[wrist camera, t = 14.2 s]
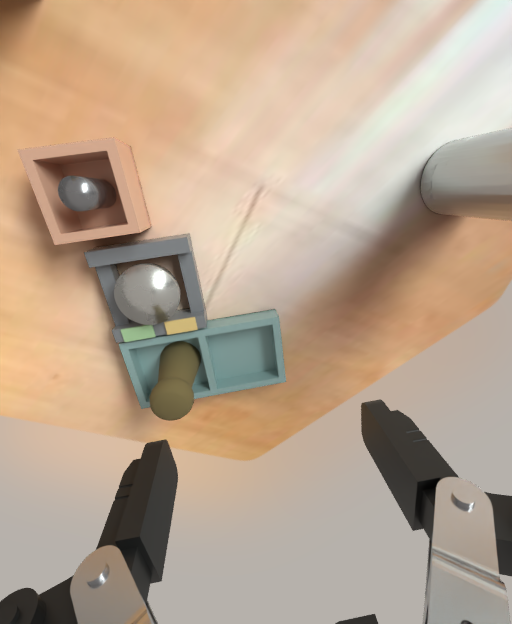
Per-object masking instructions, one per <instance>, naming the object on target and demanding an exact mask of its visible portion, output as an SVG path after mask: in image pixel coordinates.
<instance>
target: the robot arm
mask: <svg viewBox="0 0 512 624" xmlns="http://www.w3.org/2000/svg"><path fill="white" fill-rule="evenodd" d="M421 194H422V198H423V200H424V203H425V204H426V206H427V207H428V208H429V209H430V210H432V211H433V212H435V213H438V214H443V215H454V216H463V217H474V218H485V219H496V220H507V221H512V128H508V129H504V130H499V131H495V132H490V133H486V134H481V135H476V136H472V137H467V138H463V139H459V140H454V141H452V142H449V143H447V144H445V145H443V146H442V147H440V148H439V149H438V150H437V151H436V152H435V153H434V154H433V155H432V157H431V158H430V159H429V161H428V163H427V165H426V166H425V169H424V171H423V174H422V179H421ZM361 421H362V423H361V424H362V436H363V440H364V443H365V445H366V447H367V449H368V451H369V453H370V455H371V456H372V458H373V460H374V462H375V463H376V465H377V467H378V469H379V471H380V472H381V474H382V476H383V478H384V480H385V481H386V483H387V485H388V487H389V489H390V490H391V492H392V494H393V496H394V498H395V499H396V501H397V503H398V505H399V507H400V508H401V510H402V512H403V514H404V516H405V517H406V519H407V521H408V523H409V525H410V526H411V528H412V530H413V531H414V530H419V529H424V530H425V532H426V533H427V535H428V537H429V538H430V539H429V551H428V564H427V577H426V591H425V604H424V615H423V624H510V615H509V606H508V597H507V591H506V587H505V585H504V583H503V582H501V581H500V576H499V574H502V575H508V576H512V496H506V495H497V494H491V493H487V492H483V491H482V490H481V489H480V488H479V487H478V486H476V485H475V484H473V483H472V482H470V481H467V480H465V479H462V478H459V477H458V475H457V474H456V473H455V472H454V471H453V470H452V468H451V467H450V466H449V465H448V464H447V462H446V461H445V460H444V459H443V458H442V457H441V455H440V454H439V453H438V451H437V450H436V449H435V448H434V447H433V445H432V444H431V443H430V442H429V440H427V439H426V437H425V436H424V435H423V433H422V432H421V431H419V428H418V427H417V426H416V425H415V423H414V422H413V421H412V420H411V419H410V418H409V417H407V416H406V415H404V414H403V413H401V412H400V411H398V410H396V411H390V410H389V408H388V407H387V406H386V405H385V403H384V402H383V401H382V400H376V401H370V402H365V403H362V405H361ZM177 482H178V473H177V467H176V464H175V461H174V458H173V456H172V452H171V450H170V447H169V444H168V442H167V440H161V441H156V442H150V443H147V444H146V445H145V447H144V450H143V453H142V457H141V459H136V460H133V462H132V463H131V464H130V466H129V467H128V468H127V470H126V471H125V472H124V474H123V477H122V480H121V482H120V485H119V489H118V491H117V493H116V496H115V501H114V502H113V504H112V507H111V510H110V513H109V516H108V518H107V521H106V524H105V527H104V530H103V532H102V535H101V538H100V541H99V543H98V546H97V548H96V550H95V551H94V552H92V553H91V554H90V555H89V556H87V557H86V558H85V559H84V561H83V562H82V563H81V564H80V566H79V567H78V569H77V570H76V572H75V574H74V575H73V576H72V577H70V578H69V579H67V580H65V581H63V582H62V583H60V584H58V585H56V586H54V587H52V588H51V589H49V590H47V591H45V592H43V593H42V594H40V595H38V594H37V593H36V591H34V590H33V589H31V588H24V589H20V590H17V591H15V592H13V593H12V594H10V595H8V596H7V597H6V598H4V599H3V600H2V601H1V602H0V624H158V622H157V620H156V618H155V616H154V613H153V611H152V609H151V607H150V605H149V603H148V601H147V597H148V592H149V586H150V583H155V582H160V581H162V574H163V568H164V562H165V556H166V550H167V544H168V538H169V532H170V526H171V519H172V513H173V507H174V501H175V495H176V489H177ZM336 624H378V622H377V619H376V616H375V614H372V615H367V616H363V617H358V618H353V619H349V620H344V621H339V622H337V623H336Z"/></svg>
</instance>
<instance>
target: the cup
mask: <svg viewBox="0 0 512 624" xmlns="http://www.w3.org/2000/svg"><path fill="white" fill-rule="evenodd" d="M18 153H19V155H20V158H21V160H22V163H23V165H24V168H25V170H26V173H27V176H28V178H29V181H30V183H31V186H32V188H33V191H34V193H35V196H36V199H37V201H38V204H39V206H40V209H41V211H42V214H43V216H44V219H45V221H46V224H47V227H48V229H49V232H50V234H51V237H52V239H53V242H54V244H55V245H59V244H66V243H72V242H79V241H86V240H93V239H99V238H106V237H113V236H120V235H127V234H133V233H140V232H142V231H144V230H146V229H148V228H150V227H152V226H151V223H150V219H149V215H148V211H147V207H146V203H145V199H144V196H143V192H142V188H141V184H140V180H139V176H138V172H137V169H136V165H135V161H134V157H133V153H132V149H131V146H129V145H127V144H125V143H123V142H121V141H120V140H118V139H116V138H114V137H113V138H106V139H98V140H90V141H82V142H74V143H66V144H58V145H50V146H42V147H34V148H26V149H18ZM67 176H81V177H88V178H96V179H103V180H106V181H108V182H109V183H110V184H111V185H112V186H113V187H114V189H115V191H116V201H115V203H114V204H113V205H112V206H111V207H109V208H103V209H96V210H88V211H74V210H71V209H69V208H68V207H66V206H65V205H64V204H63V202H62V201H61V199H60V197H59V195H58V185H59V183H60V181H61V180H62V179H63V178H65V177H67Z"/></svg>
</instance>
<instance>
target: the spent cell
mask: <svg viewBox="0 0 512 624" xmlns="http://www.w3.org/2000/svg"><path fill="white" fill-rule="evenodd" d="M58 195H59V197H60V199H61V201H62V202H63V204H64V205H65V206H66V207H68V208H69V209H71V210H74V211H88V210H96V209H103V208H109V207H111V206H112V205H113V204H114V203H115V201H116V191H115V189H114V187H113V186H112V185H111V184H110V183H109V182H108V181H106V180H103V179H96V178H88V177H81V176H67V177H65V178H63V179H62V180H61V181H60V183H59V185H58Z"/></svg>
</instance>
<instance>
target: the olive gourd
mask: <svg viewBox="0 0 512 624" xmlns="http://www.w3.org/2000/svg"><path fill="white" fill-rule="evenodd" d="M200 363H201V355H200V352H199V351H198V349H197V348H196V347H195V346H193V345H192V344H190V343H187V342H184V341H177V342H173V343H170V344H169V345H167V346H165V348H164V349H163V350H162V352H161V355H160V362H159V374H158V383H157V384H156V385H155V387H154V388H153V389H152V392H151V395H150V397H149V399H150V407H151V409H152V411H153V413H154V414H155V415H156V416H157V417H159V418H161V419H164V420H177V419H180V418H182V417H183V416H185V415H186V414H187V413H188V412H189V411H190V410H191V408H192V405H193V403H194V392H193V390H192V386H193V383H194V380H195V377H196V375H197V372H198V369H199V366H200Z"/></svg>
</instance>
